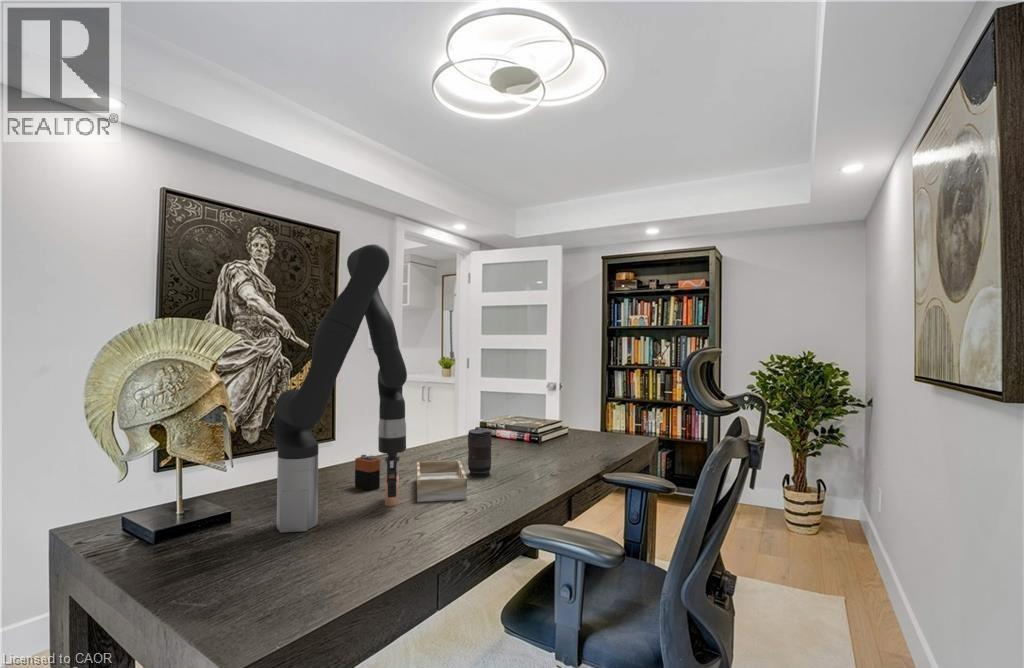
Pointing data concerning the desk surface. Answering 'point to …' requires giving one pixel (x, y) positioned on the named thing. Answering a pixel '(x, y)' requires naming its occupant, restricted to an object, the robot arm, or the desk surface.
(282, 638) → the desk surface
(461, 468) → the box
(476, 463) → the camera lens
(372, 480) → the battery
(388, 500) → the peg
